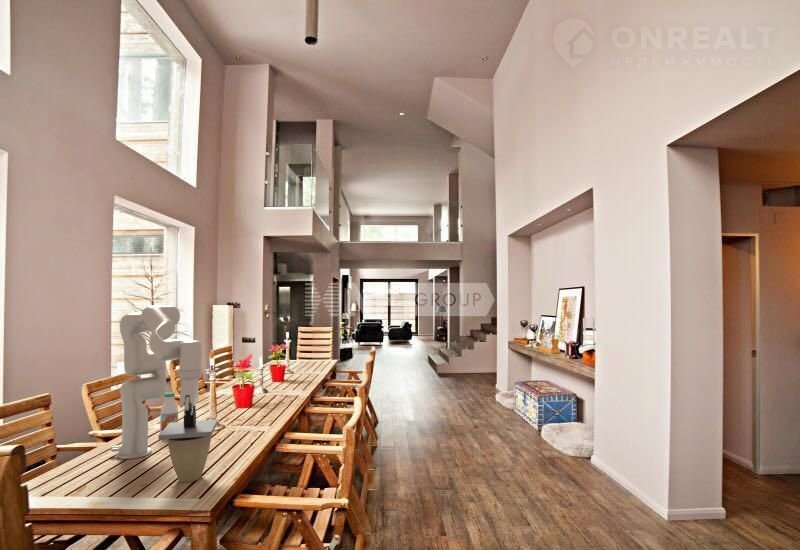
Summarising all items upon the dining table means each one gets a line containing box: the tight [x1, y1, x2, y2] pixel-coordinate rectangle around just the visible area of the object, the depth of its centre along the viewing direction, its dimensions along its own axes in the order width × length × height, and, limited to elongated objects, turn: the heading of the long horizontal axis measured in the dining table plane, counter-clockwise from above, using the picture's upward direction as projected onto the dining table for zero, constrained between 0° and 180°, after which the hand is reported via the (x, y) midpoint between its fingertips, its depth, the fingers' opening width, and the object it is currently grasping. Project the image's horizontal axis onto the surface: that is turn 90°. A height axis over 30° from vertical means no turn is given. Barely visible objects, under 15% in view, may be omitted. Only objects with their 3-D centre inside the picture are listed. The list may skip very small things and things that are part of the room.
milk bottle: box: [159, 391, 179, 434], centre depth 227 cm, size 8×8×20 cm
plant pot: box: [166, 435, 212, 483], centre depth 170 cm, size 15×15×16 cm
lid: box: [157, 411, 218, 441], centre depth 171 cm, size 17×17×6 cm
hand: (189, 424), depth 171 cm, fingers closed on lid, 4 cm apart
